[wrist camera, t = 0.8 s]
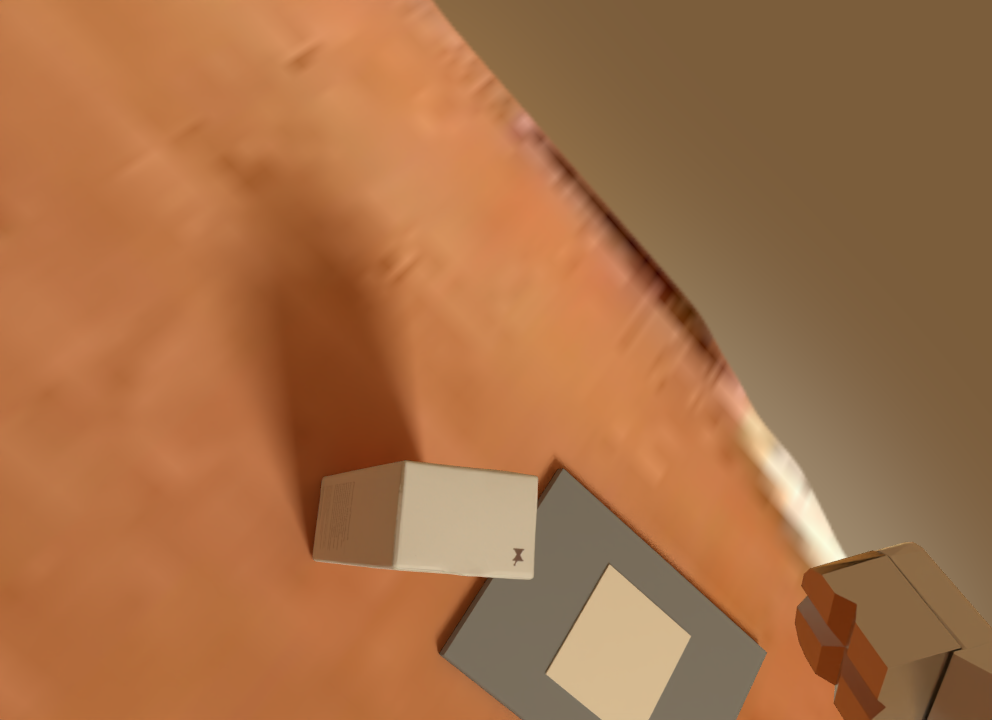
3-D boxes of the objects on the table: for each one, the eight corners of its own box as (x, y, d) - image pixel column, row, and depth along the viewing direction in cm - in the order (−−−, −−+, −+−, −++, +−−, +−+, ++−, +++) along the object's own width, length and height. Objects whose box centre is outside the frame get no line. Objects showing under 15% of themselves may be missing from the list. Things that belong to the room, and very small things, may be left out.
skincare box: (430, 486, 45) (544, 474, 35) (423, 569, 44) (538, 583, 34) (317, 473, 42) (403, 456, 32) (306, 561, 42) (392, 574, 31)
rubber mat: (438, 654, 44) (444, 655, 43) (558, 468, 49) (564, 468, 48) (672, 838, 48) (680, 842, 47) (759, 651, 53) (768, 652, 52)
